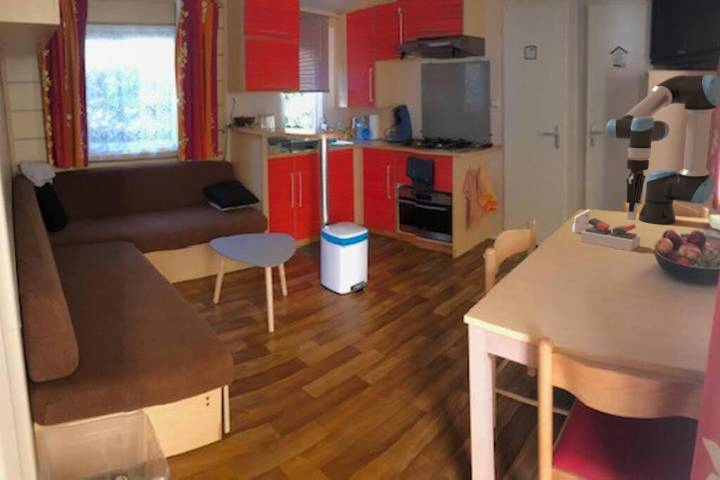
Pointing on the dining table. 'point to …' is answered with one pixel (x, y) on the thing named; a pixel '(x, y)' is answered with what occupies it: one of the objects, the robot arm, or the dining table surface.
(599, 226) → the rocker
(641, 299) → the dining table surface
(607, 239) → the power strip
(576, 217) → the white wedge bracket
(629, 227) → the rocker
